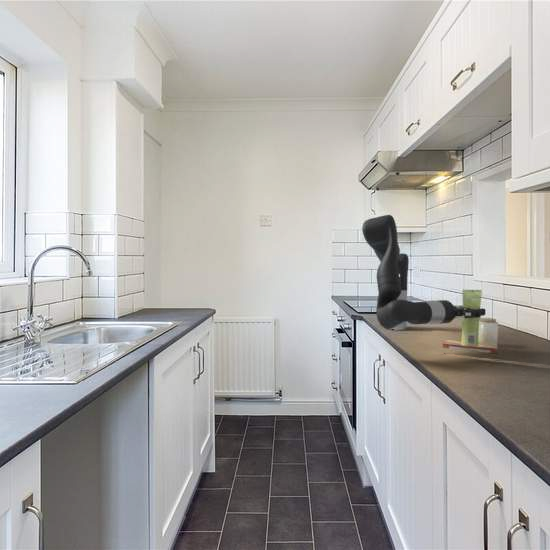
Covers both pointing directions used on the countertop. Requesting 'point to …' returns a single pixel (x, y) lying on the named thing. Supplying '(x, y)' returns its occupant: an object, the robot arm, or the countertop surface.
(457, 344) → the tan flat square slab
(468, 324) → the tube
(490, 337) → the jar
